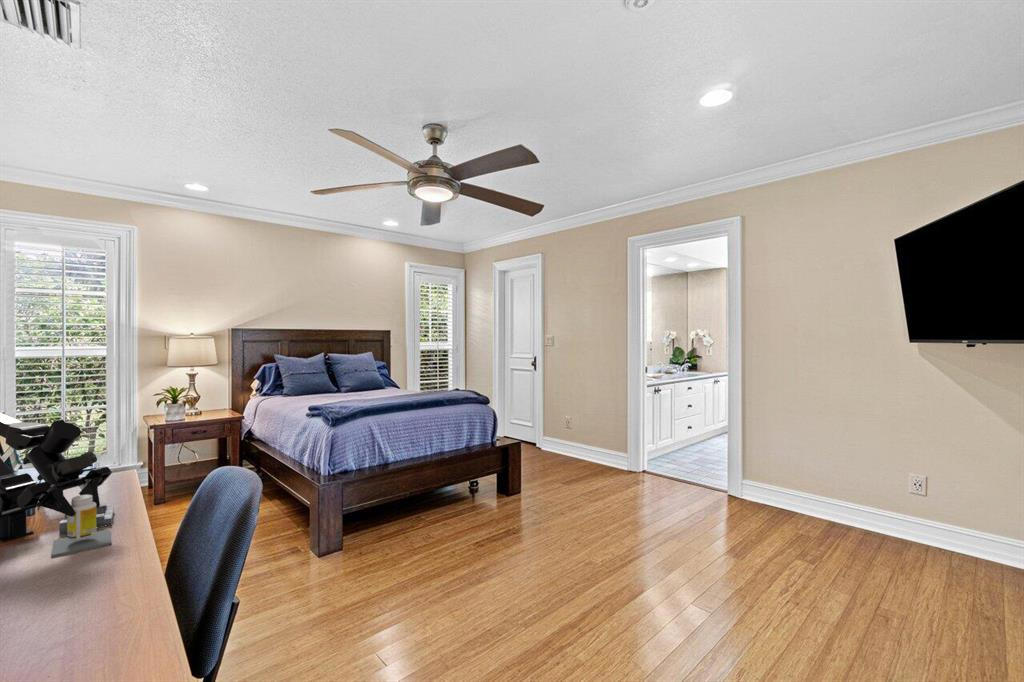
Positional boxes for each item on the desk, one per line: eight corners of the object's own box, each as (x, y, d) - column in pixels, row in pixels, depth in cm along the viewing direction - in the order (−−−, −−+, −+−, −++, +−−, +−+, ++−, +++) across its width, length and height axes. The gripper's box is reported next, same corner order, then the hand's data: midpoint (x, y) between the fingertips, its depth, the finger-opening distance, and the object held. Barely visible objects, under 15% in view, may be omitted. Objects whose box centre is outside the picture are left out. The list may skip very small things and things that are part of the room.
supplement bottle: (100, 531, 125) (100, 492, 125) (90, 539, 120) (91, 499, 120) (73, 534, 123) (73, 494, 123) (62, 543, 118) (62, 501, 118)
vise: (110, 530, 130) (110, 519, 130) (56, 540, 124) (56, 528, 124) (113, 512, 144) (113, 502, 144) (65, 520, 137) (65, 509, 137)
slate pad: (53, 542, 122) (53, 540, 122) (109, 531, 129) (110, 529, 129) (51, 557, 114) (51, 555, 114) (111, 544, 121) (111, 542, 121)
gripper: (26, 452, 113) (64, 502, 111) (106, 436, 131) (140, 479, 129) (0, 483, 115) (36, 533, 113) (83, 463, 133) (115, 506, 131)
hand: (86, 511), depth 121 cm, fingers closed on supplement bottle, 5 cm apart
